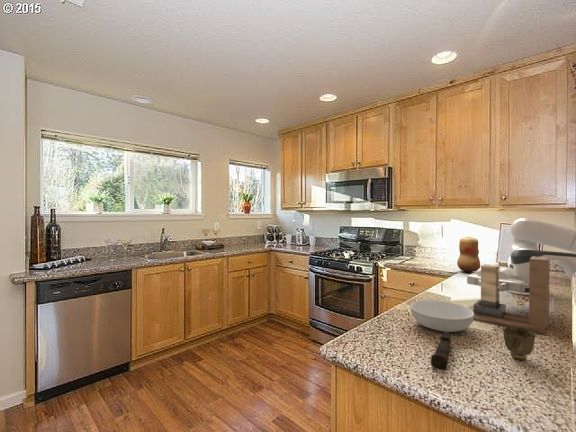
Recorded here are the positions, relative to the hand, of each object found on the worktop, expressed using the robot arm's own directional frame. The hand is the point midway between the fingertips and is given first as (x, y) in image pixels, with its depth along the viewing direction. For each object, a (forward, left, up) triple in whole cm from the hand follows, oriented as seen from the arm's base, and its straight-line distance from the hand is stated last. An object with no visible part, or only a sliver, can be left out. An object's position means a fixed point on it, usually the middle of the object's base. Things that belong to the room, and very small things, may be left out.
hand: (489, 285), depth 122 cm
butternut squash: (-96, -30, -13) cm, 102 cm away
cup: (+36, +14, -13) cm, 40 cm away
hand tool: (+49, -3, -13) cm, 51 cm away
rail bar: (-1, 0, -10) cm, 10 cm away
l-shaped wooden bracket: (+1, +5, -12) cm, 13 cm away
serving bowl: (+26, -10, -13) cm, 30 cm away
